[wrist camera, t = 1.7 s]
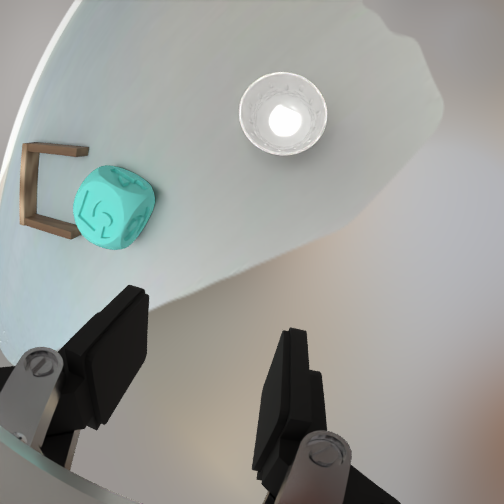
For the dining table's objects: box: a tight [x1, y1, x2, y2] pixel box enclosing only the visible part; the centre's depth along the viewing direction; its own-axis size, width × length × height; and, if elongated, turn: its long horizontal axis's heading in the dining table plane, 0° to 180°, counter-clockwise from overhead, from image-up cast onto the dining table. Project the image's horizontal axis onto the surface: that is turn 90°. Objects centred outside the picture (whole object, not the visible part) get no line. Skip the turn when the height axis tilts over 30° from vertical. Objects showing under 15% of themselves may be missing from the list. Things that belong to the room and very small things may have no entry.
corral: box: [20, 142, 89, 239], centre depth 38 cm, size 13×12×3 cm
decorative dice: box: [73, 166, 155, 250], centre depth 36 cm, size 8×8×8 cm
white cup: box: [239, 72, 327, 156], centre depth 29 cm, size 8×8×10 cm
